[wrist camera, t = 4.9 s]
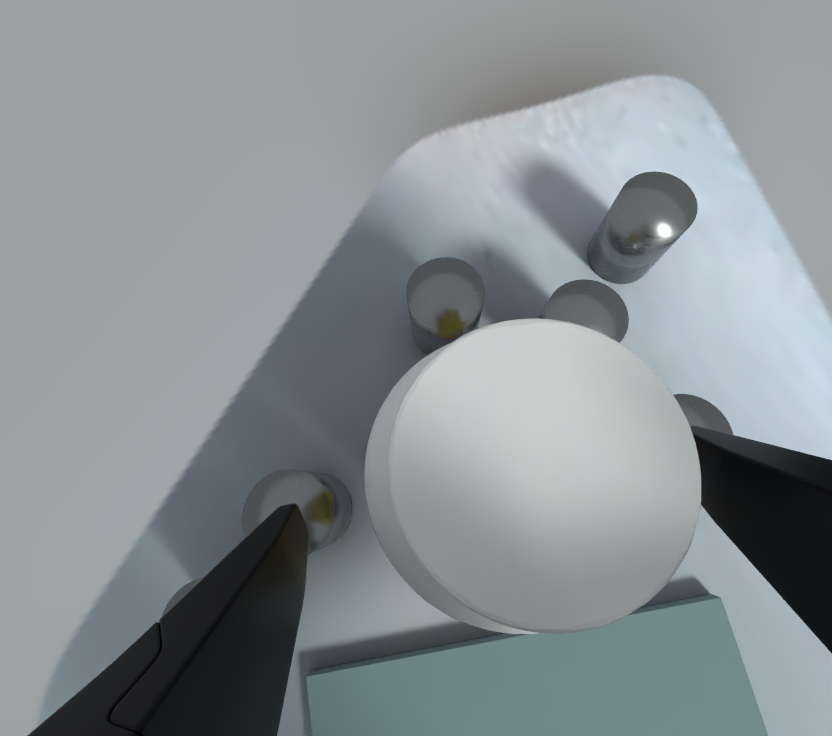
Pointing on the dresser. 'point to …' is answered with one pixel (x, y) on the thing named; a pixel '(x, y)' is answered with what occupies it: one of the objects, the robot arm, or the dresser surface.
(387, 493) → the supplement bottle
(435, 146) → the dresser surface
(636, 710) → the rubber mat
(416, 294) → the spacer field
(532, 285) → the dresser surface
